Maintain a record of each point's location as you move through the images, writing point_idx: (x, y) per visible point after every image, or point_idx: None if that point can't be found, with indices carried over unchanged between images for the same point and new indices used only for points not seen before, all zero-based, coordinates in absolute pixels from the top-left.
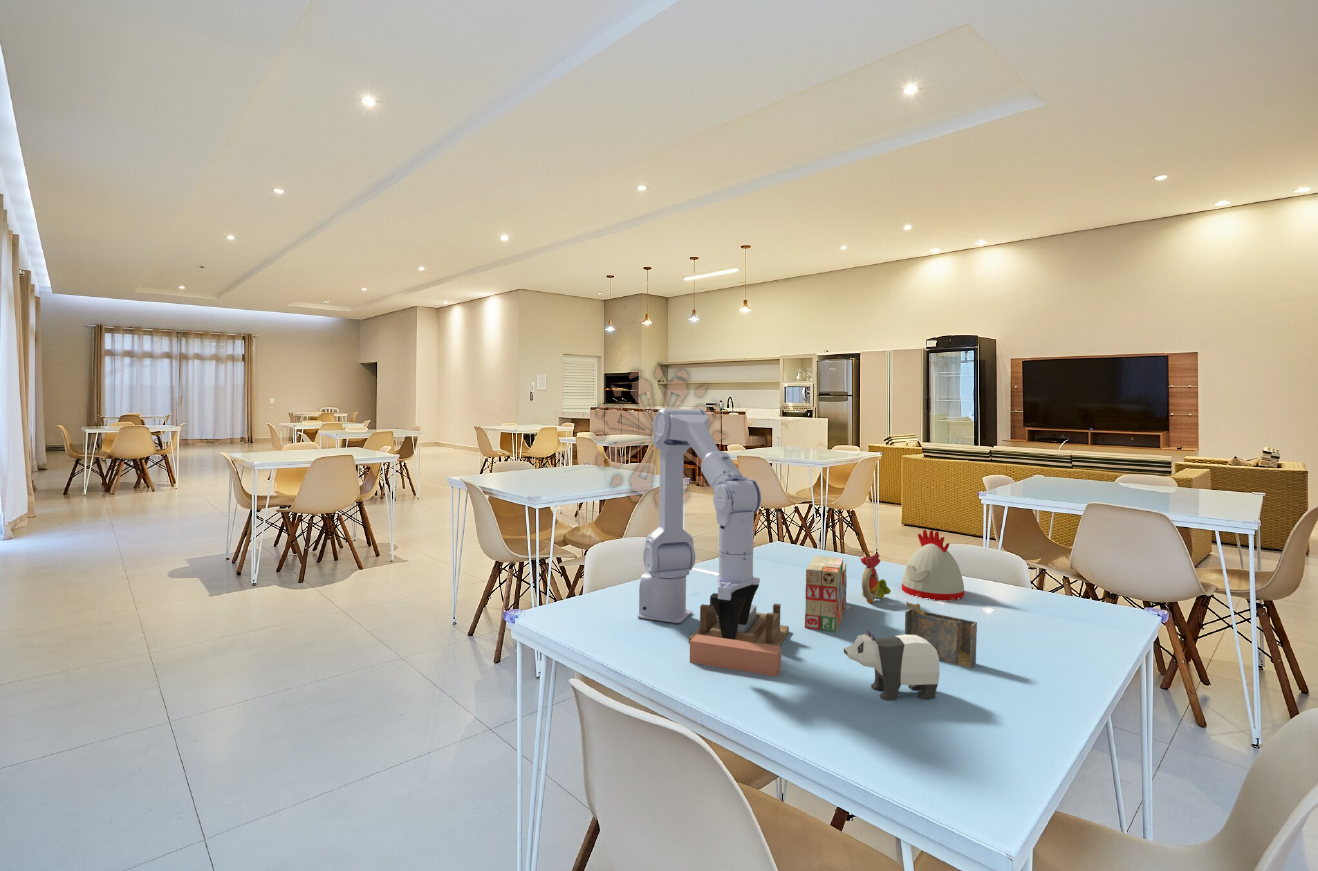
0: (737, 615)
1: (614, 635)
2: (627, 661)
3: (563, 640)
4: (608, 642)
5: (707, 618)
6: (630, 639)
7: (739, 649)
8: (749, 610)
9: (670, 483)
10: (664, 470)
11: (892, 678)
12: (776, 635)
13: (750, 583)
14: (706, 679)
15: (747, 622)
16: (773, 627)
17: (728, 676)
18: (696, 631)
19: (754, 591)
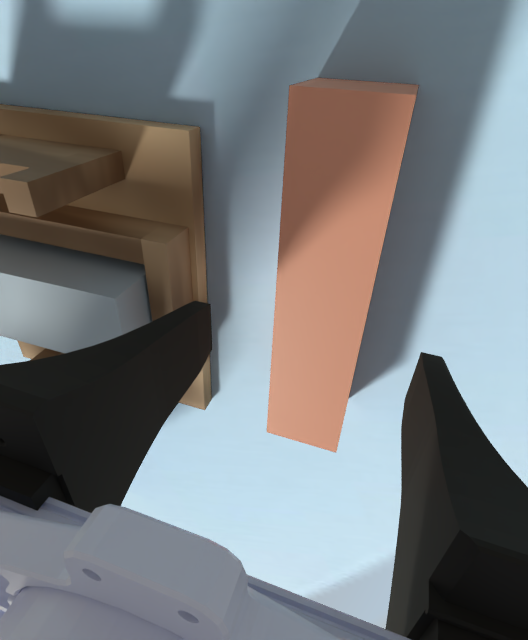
0: (513, 473)
1: (236, 525)
2: (383, 519)
3: (299, 592)
4: (280, 537)
5: None
6: (245, 503)
7: (371, 293)
8: (160, 330)
9: None
10: None
11: None
12: (42, 141)
13: (254, 615)
14: (490, 355)
15: (81, 276)
16: (57, 161)
17: (451, 288)
18: None
19: (76, 391)
